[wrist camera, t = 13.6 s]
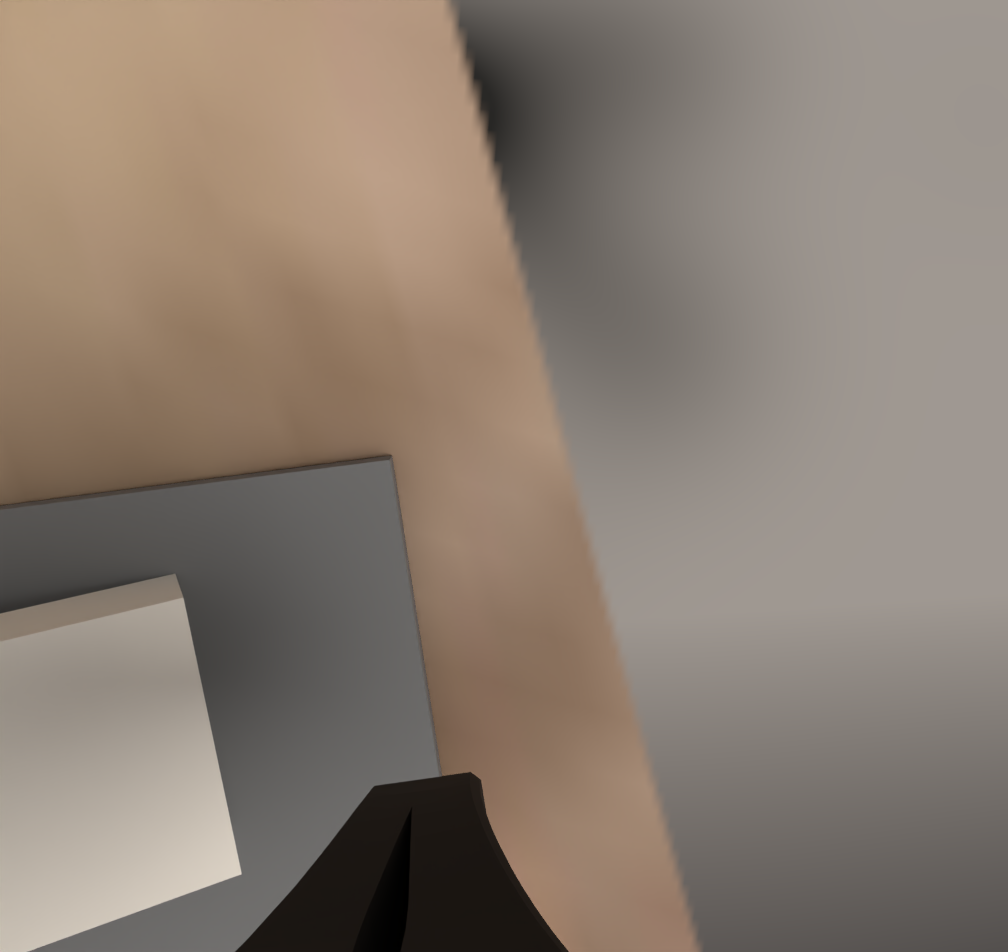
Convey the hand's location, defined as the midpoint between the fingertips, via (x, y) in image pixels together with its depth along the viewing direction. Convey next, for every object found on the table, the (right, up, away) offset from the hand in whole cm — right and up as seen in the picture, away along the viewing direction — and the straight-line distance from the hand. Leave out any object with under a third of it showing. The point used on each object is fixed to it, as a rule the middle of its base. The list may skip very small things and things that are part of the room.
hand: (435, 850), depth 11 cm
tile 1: (-4, 0, +4) cm, 6 cm away
